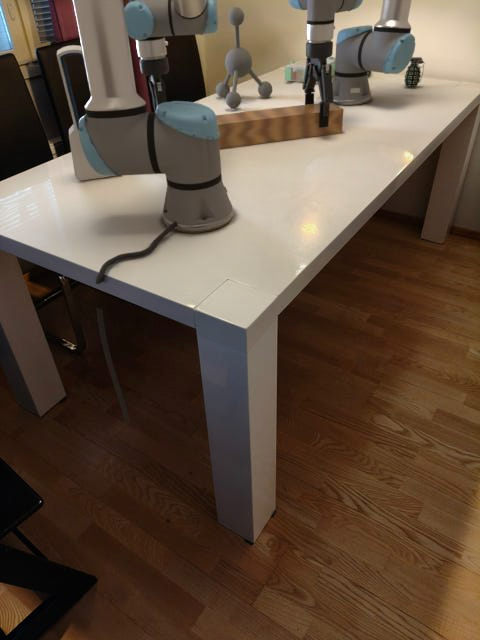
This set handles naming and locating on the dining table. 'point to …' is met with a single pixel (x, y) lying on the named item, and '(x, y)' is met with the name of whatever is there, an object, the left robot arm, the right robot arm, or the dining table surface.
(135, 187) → the dining table surface
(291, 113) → the long wooden beam
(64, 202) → the dining table surface
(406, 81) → the grenade
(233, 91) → the molecular model
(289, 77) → the decorative block
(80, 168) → the electronic device
